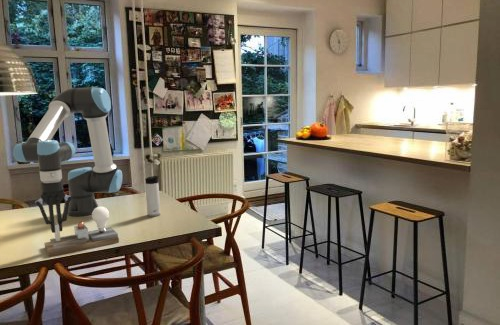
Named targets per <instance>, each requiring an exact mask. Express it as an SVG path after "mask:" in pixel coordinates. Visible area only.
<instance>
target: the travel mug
mask: <svg viewBox="0 0 500 325" xmlns="http://www.w3.org/2000/svg"><path fill="white" fill-rule="evenodd" d="M159 177H160V176H159V175H153V176H148V177H145V183H144V184H145V196H146V197H145V198H146V211H147V212H146V216H148V217H149V216H150V217H151V218H153V217H159V216H160V215H161V205H160V204H161V202H160V201H161V200H160V189H159V188H160V186H159V185H160V184H159Z"/></svg>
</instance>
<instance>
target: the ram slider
mask: <svg viewBox="0 0 500 325" xmlns="http://www.w3.org/2000/svg"><path fill="white" fill-rule="evenodd" d="M76 225H77V226H76ZM76 225H75V226H73V228H74V235H75V239H76V240H81V239H87V241H89V236H88V232H89V228H88V227H87V226H86V224H85V223H84V221H78V222H77V224H76Z"/></svg>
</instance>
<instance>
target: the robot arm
mask: <svg viewBox="0 0 500 325" xmlns="http://www.w3.org/2000/svg"><path fill="white" fill-rule="evenodd" d="M111 105H112V101H111V98H110V95H109V93H108V91H107V90H106V89H105V88H102V87H96V86H93V87H71V88H67V89H65V90H63V91H62V92H60V93H59V94H57V95H56V96H54V98H53V99H52V100H51V101H50V102H49V104H48V110H47V111H46V113H45V114H44V115H43V117H42V118H41V120H40V121H39V123H38V124H37V126H36V127H35V128H34V130H33V131H32V133H31V134H30V136H29V137H28V138H27V140H26V141H25V142H24V143H23V142H21V143H17V144H16V145H14V148H13V154H12V155H13V157H14V159H15V160H16V161H17V162H20V163H38V168H39V176H40V178H39V179H40V181H41V183H40V187H41V195H40V198H39V199H37V200H35V201H34V203H35V204H36V205H37V207H38V209H39V210H40V213H41V216H42V218H43V221H44V222H45V224H46V225H50V229H51V233H54V238H55V239H56V241H60V237H61V232H62V231H63V223H64V222H67V219H68V216H72V217H82V216H85V217H86V216H89V215H90V216H91V215H92V212H93V210H94V209H95V208H97V207H99V205H98V202H97V200H96V198H95V193H101V194H102V193H109V194H111V193H117V192H119V191H120V189H121V187H122V184H123V172H122V170H121V169H118V167H117V164H116V163H114V162H113V156H112V150H111V145H110V138H109V132H108V126H107V120H106V118H107V116H108V115H109V112H110V111H111V109H112V106H111ZM74 113H77V114H79V113H80V114H81V115H82V118H83V119H84V120H86V123H87V129H88V134H89V140H90V145H91V151H92V156H93V161H94V166H93V167H91V166H86V167H85V166H84V167H78V168H75V169H72V170H69V171H68V174H67V182H68V191H69V194H68V195H67V194H66V192H65V190H64V183H63V180H62V179H63V174H62V173H63V172H62V164H61V163H63V162H67V161H69V160H71V159H72V158H74V157H75V155H76V147H75V146H74V144H73V143H71V142H69V141H60V142H59V141H58V140H55V139H53V138H54V137H55V134H56V132H57V131H58V129H59V128H60V126H61V125H62V123H63V121H64V120H65V119H66V118H68V117H69V116H70V115H72V114H74ZM63 200H64V206H63V213H62V210H61V203H62V202H63ZM43 202H44V203H46V205H48V212H49V214H48V215H49V218H48V215H47V214H46V211H45V208H44V206H43ZM54 205H55V209H56V220H57V222H55V214H54Z"/></svg>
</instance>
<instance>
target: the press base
mask: <svg viewBox="0 0 500 325" xmlns="http://www.w3.org/2000/svg"><path fill="white" fill-rule="evenodd" d="M88 236H89V241H87V239H81V240H76V239H75V234H70V235H66V236H65V235H64V236H60V241H56V239H55V237H54V238H51V239H50V240H49V241H46V242H44V249H45V251H46V253H47V255H48V257H49V258H51V257H55V256H60V255H64V254H70V253H74V252H79V251H85V250H90V249H93V248H98V247H102V246H108V245H112V244H116V243H117V244H118V243H119V242H120V239H119V233H118V232H117V231H116V230H115V229H114V228H112V227H105V231H104V232H99V231H98V229H95V230H90V231H89V230H88Z"/></svg>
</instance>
